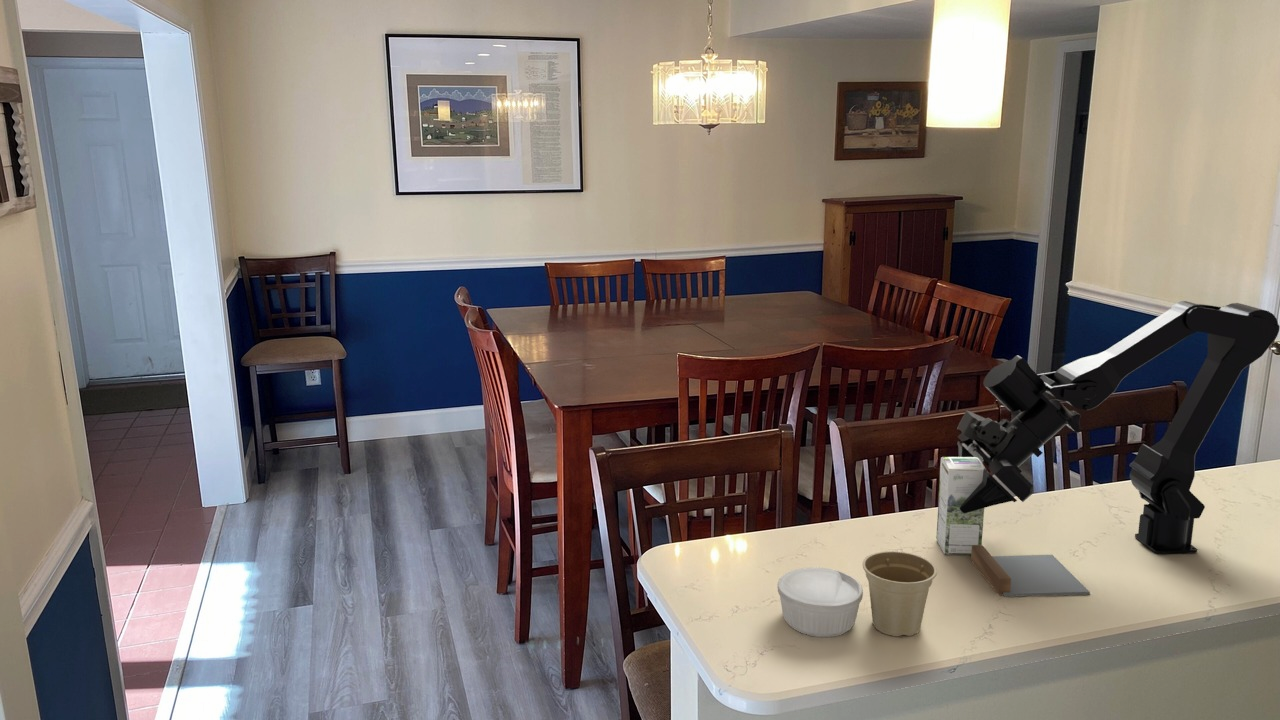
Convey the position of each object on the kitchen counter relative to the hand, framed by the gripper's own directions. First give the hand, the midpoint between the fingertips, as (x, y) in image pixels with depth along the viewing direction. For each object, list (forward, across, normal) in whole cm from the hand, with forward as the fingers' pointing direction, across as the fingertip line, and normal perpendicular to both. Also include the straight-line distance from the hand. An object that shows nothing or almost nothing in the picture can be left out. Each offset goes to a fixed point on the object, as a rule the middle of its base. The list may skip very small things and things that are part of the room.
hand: (952, 499), depth 142 cm
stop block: (+4, +10, +8) cm, 13 cm away
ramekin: (+23, +22, -11) cm, 34 cm away
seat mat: (0, +10, +12) cm, 15 cm away
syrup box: (+5, 0, +7) cm, 9 cm away
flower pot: (+16, +24, -4) cm, 29 cm away
